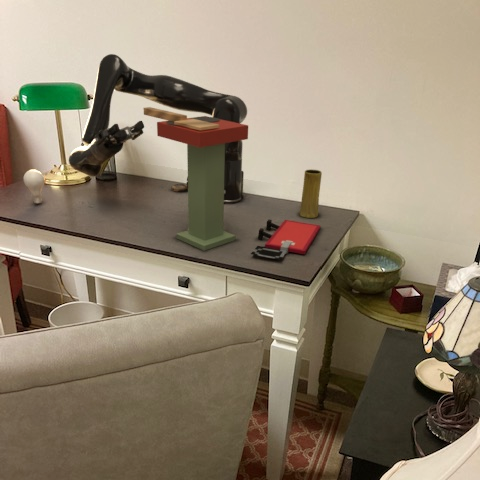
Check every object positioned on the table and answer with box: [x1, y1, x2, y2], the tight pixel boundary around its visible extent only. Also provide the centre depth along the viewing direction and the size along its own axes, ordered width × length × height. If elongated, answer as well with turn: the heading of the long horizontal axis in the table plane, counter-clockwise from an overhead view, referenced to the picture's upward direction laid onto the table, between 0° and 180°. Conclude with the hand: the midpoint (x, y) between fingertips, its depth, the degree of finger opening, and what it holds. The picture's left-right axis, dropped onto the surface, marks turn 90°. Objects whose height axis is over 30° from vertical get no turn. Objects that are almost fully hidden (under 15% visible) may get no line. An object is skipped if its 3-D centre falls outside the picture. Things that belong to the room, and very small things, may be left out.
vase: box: [298, 169, 322, 219], centre depth 168 cm, size 6×6×14 cm
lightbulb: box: [22, 169, 46, 205], centre depth 169 cm, size 6×6×11 cm
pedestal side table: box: [156, 115, 249, 251], centre depth 145 cm, size 18×17×31 cm
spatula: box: [142, 106, 219, 131], centre depth 137 cm, size 26×6×2 cm, turn 45°
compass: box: [171, 176, 188, 193], centre depth 188 cm, size 8×8×7 cm
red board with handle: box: [250, 219, 321, 260], centre depth 150 cm, size 30×3×15 cm
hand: (130, 125), depth 153 cm, fingers open, 8 cm apart
